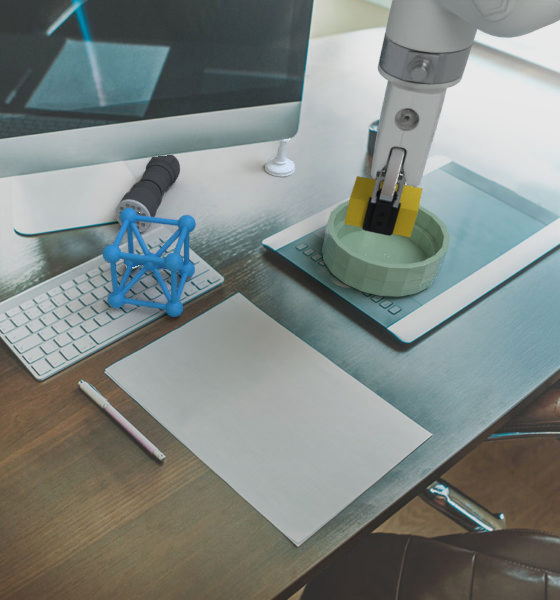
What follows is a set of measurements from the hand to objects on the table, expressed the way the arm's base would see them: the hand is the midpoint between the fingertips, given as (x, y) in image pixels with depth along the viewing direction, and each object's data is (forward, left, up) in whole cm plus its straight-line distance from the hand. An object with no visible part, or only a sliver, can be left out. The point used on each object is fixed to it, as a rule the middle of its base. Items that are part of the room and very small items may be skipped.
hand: (380, 216), depth 72 cm
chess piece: (+18, -30, -16) cm, 38 cm away
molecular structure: (+26, +5, -16) cm, 31 cm away
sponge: (0, 0, 0) cm, 0 cm away
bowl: (-1, -12, -16) cm, 20 cm away
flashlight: (+34, -13, -16) cm, 40 cm away
